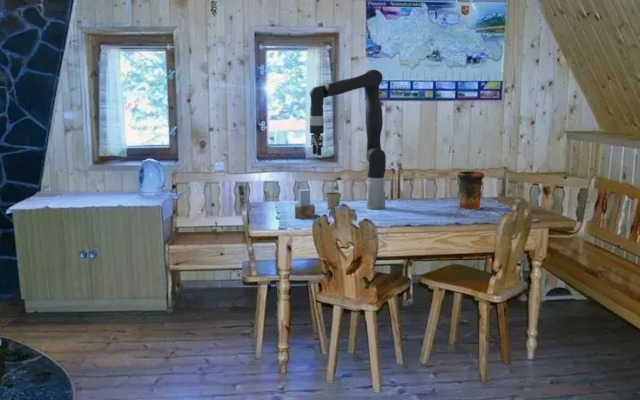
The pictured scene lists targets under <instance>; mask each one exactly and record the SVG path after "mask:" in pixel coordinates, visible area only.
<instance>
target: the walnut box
mask: <svg viewBox="0 0 640 400" xmlns="http://www.w3.org/2000/svg"><path fill="white" fill-rule="evenodd" d="M315 210H316V207H315V204H314V203H310V206H302V207H301V206H299V205H298V203H294V218H295V219H316V217H315V216H316V215H315V214H316V212H315Z"/></svg>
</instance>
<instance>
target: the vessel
mask: <svg viewBox="0 0 640 400" xmlns="http://www.w3.org/2000/svg"><path fill="white" fill-rule="evenodd" d="M457 177H458V180H459V206H457V207H458V209H461V210H469V209H472V210H471V211H474V210H480V209H482V207H481V197H482V184H483V179H484V177H485V173H484V172H482V171H475V170H472V171H468V170H467V171H466V170H465V171H459V172H458V173H457ZM469 211H470V210H469Z"/></svg>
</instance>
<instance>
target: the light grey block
mask: <svg viewBox="0 0 640 400" xmlns="http://www.w3.org/2000/svg"><path fill="white" fill-rule="evenodd" d="M297 200H298V203H297V204H298V205H299V206H301V207H302V206H310V204H311V190H309V189H308V188H307V189H298V190H297Z"/></svg>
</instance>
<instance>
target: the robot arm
mask: <svg viewBox="0 0 640 400" xmlns="http://www.w3.org/2000/svg"><path fill="white" fill-rule="evenodd" d="M382 82H383V74H382V72H381V71H379V70H377V69H369V70H367V71H366V72H365V73H363V74H360V75H358V76H355V77H350V78H346V79H340V80H336V81H333V82H329V83H327V84H324V85H318V86H314V87H312V88H311V89H310V91H309V97H310V109H309V117H310V118H309V133H310V134H311V137H310V146H311V147H312V154H313V155H316V156H322V148H323V147H324V145H323V144H324V143H323V138H324V136H323V134H324V131H325V130H324V129H325V128H324V127H325V125H324V124H325V123H324V122H325V119H324V100H325V98H328V97H334V96H338V95H341V94H345V93H348V92H350V91H355V90H358V89H362V88H364V91H365V128H366V130H365V131H366V138H367V139H366V153H365V155H366V160H367V162H368V171H367V178H366V179H367V182H366V183H367V184H366V185H367V186H366V187H367V188H366V191H367V193H366V198H367V199H366V200H367V201H366V208H367V209H368V210H369V209H370V210H381V209H386V191H385V173H386V168H387V167H386V165H387V164H386V158H387V157H386V153H385V151H384V150H383V149H382V147H381V145H382V144H381V135H382V130H383V124H384V121H383V120H384V119H383V118H384V117H383V108H382V104H381V100H380V99H381V98H380V85H381V83H382ZM321 134H322V135H321Z"/></svg>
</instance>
